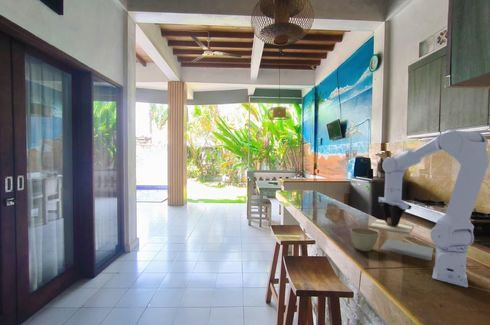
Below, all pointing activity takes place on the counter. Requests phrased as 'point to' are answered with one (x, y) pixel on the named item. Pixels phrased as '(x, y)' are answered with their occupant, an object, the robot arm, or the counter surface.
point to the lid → (389, 227)
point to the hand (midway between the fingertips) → (391, 223)
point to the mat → (408, 249)
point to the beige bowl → (363, 238)
